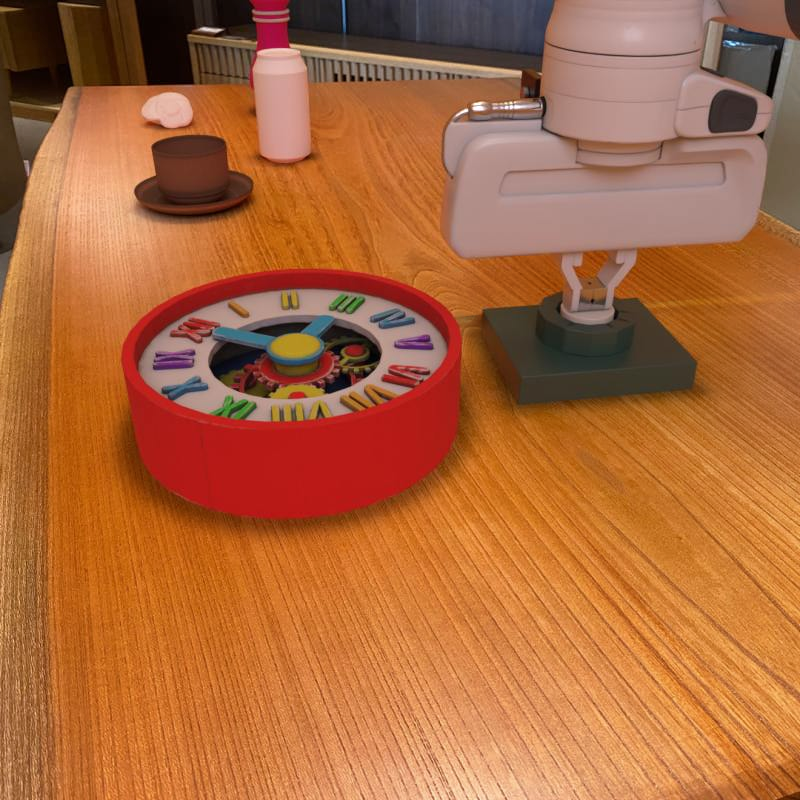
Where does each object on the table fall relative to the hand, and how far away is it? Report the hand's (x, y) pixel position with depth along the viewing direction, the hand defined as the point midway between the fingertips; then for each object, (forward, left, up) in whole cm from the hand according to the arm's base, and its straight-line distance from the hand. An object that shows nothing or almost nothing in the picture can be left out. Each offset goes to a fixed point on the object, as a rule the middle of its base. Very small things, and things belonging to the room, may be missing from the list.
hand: (586, 307), depth 57 cm
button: (0, 0, -2) cm, 2 cm away
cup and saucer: (+28, -38, -4) cm, 47 cm away
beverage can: (+18, -53, -4) cm, 56 cm away
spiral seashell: (+33, -71, -4) cm, 78 cm away
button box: (0, 0, -4) cm, 4 cm away
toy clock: (+20, +4, -4) cm, 21 cm away
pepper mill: (+18, -76, -4) cm, 78 cm away
